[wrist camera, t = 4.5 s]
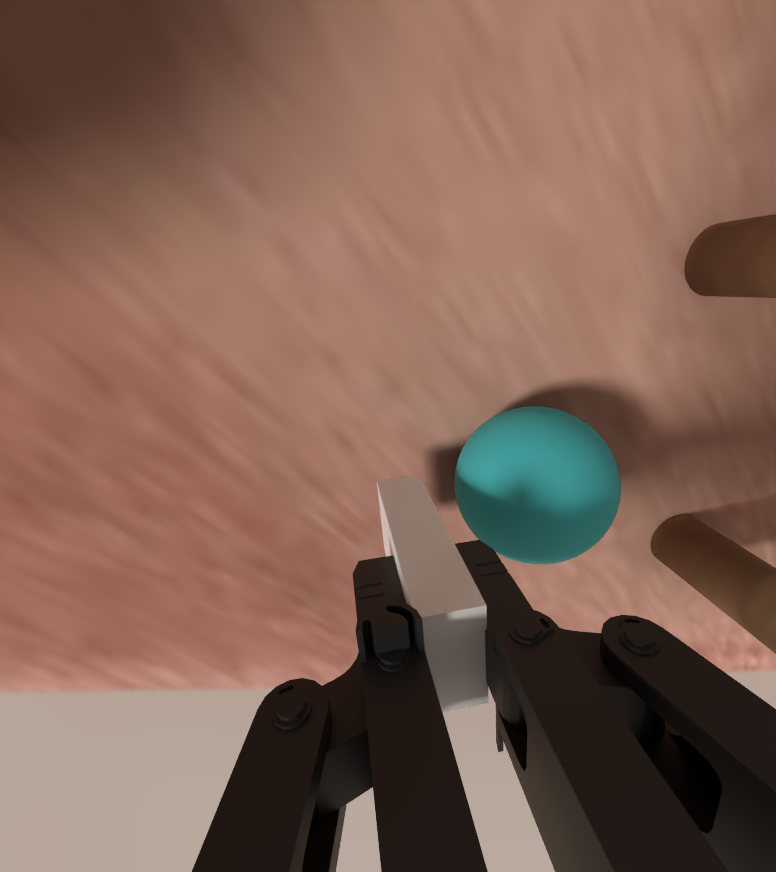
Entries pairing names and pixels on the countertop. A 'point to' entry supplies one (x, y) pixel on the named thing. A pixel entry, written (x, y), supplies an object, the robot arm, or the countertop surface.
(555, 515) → the ball
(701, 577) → the post outer
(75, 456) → the countertop surface
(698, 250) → the post inner
